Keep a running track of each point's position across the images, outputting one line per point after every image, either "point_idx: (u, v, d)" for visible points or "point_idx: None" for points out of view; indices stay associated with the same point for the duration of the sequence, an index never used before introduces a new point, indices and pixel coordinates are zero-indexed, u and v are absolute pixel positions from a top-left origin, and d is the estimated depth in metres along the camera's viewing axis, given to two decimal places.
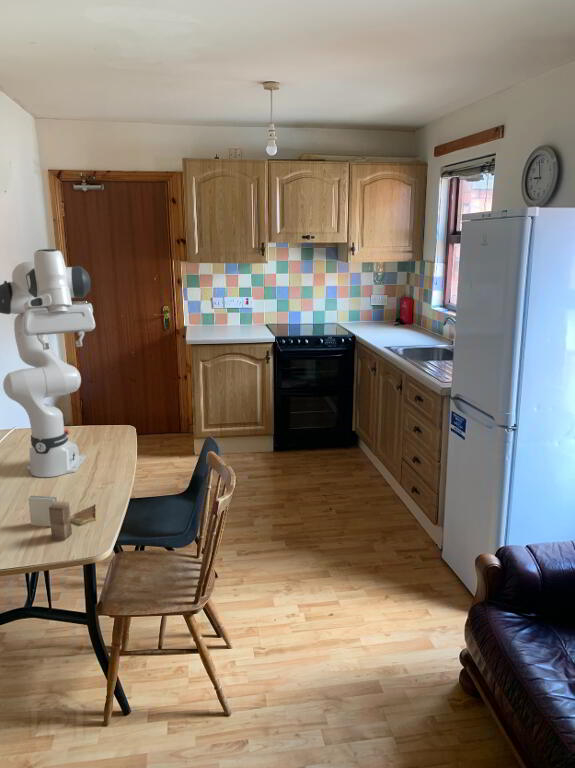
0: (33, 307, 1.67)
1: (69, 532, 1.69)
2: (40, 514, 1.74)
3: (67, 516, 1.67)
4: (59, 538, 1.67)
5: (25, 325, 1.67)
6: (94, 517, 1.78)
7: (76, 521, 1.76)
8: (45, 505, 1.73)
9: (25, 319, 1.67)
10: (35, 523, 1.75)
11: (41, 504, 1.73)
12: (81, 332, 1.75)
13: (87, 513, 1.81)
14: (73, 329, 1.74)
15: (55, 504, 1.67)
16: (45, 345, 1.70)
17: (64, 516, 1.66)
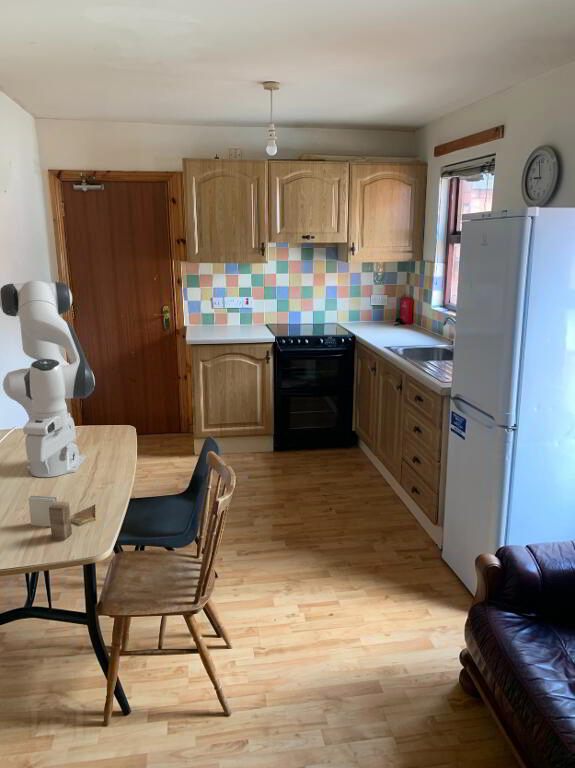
0: (48, 433, 1.53)
1: (69, 532, 1.69)
2: (40, 514, 1.74)
3: (67, 516, 1.67)
4: (59, 538, 1.67)
5: (41, 454, 1.52)
6: (94, 517, 1.78)
7: (76, 521, 1.76)
8: (45, 505, 1.73)
9: (41, 448, 1.52)
10: (35, 523, 1.75)
11: (41, 504, 1.73)
12: (67, 446, 1.68)
13: (87, 512, 1.81)
14: (65, 445, 1.65)
15: (55, 504, 1.67)
16: (48, 469, 1.58)
17: (64, 516, 1.66)
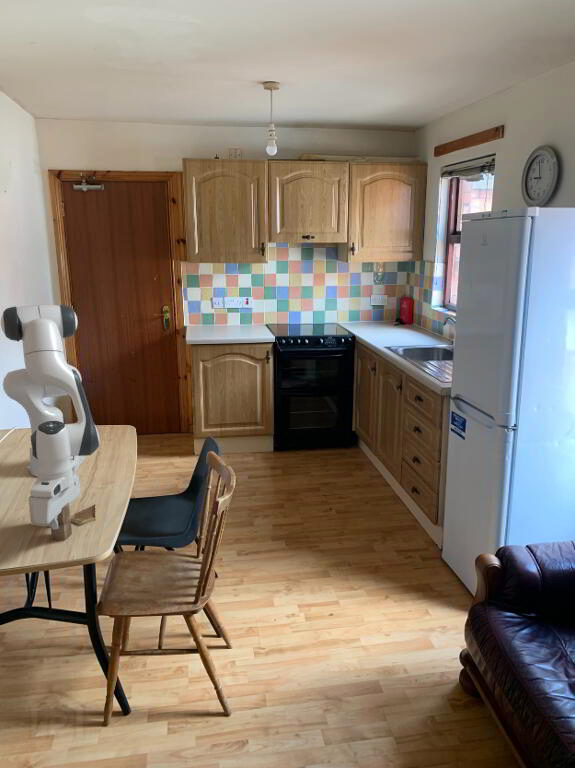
0: (54, 495, 1.58)
1: (69, 532, 1.69)
2: None
3: (67, 515, 1.67)
4: (59, 538, 1.67)
5: (47, 516, 1.56)
6: (94, 517, 1.78)
7: (76, 521, 1.76)
8: None
9: (48, 510, 1.56)
10: (35, 523, 1.75)
11: None
12: (69, 505, 1.70)
13: (87, 512, 1.81)
14: (70, 502, 1.70)
15: None
16: (58, 525, 1.65)
17: (64, 516, 1.66)
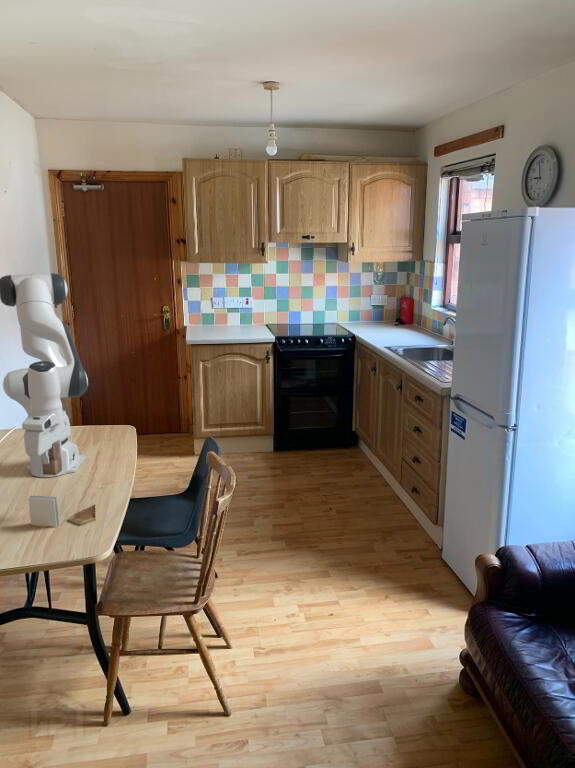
0: (44, 429, 1.68)
1: (59, 468, 1.79)
2: (40, 514, 1.74)
3: (58, 452, 1.77)
4: (50, 473, 1.77)
5: (38, 448, 1.67)
6: (94, 517, 1.79)
7: (76, 521, 1.76)
8: (45, 505, 1.73)
9: (39, 443, 1.66)
10: (35, 523, 1.75)
11: (41, 504, 1.73)
12: None
13: (87, 513, 1.81)
14: (61, 440, 1.80)
15: None
16: (49, 460, 1.75)
17: (54, 451, 1.76)
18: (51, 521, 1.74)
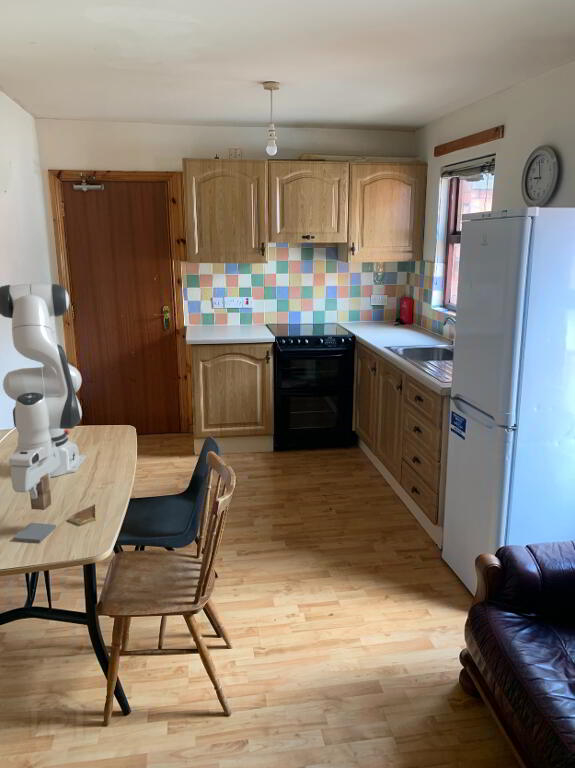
0: (32, 464, 1.62)
1: (48, 502, 1.73)
2: None
3: (46, 486, 1.72)
4: (38, 507, 1.71)
5: (25, 484, 1.61)
6: (94, 517, 1.79)
7: (76, 521, 1.76)
8: None
9: (26, 478, 1.61)
10: None
11: None
12: None
13: (87, 512, 1.81)
14: (49, 473, 1.74)
15: None
16: (37, 494, 1.69)
17: (43, 486, 1.70)
18: None
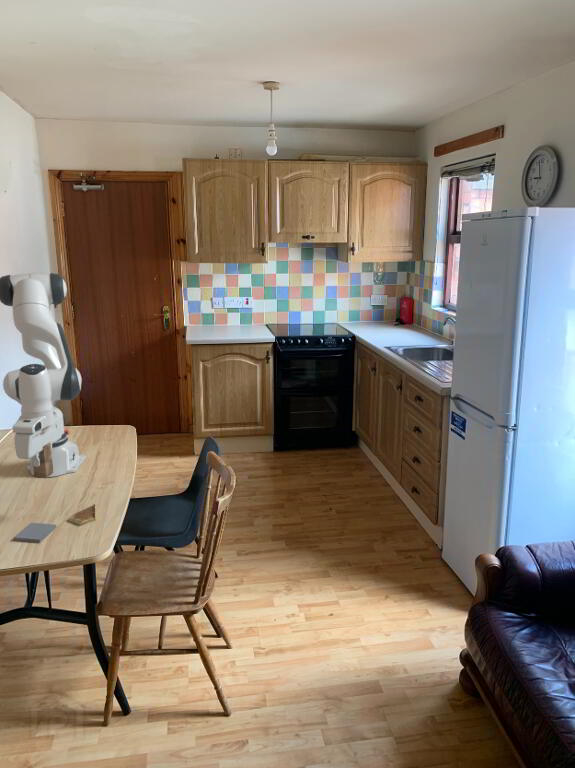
0: (35, 432, 1.68)
1: (50, 470, 1.79)
2: None
3: (49, 454, 1.78)
4: (41, 475, 1.77)
5: (28, 451, 1.67)
6: (94, 517, 1.79)
7: (76, 521, 1.76)
8: None
9: (29, 445, 1.67)
10: None
11: None
12: None
13: (87, 512, 1.81)
14: (52, 443, 1.80)
15: None
16: (39, 462, 1.75)
17: (45, 454, 1.76)
18: None
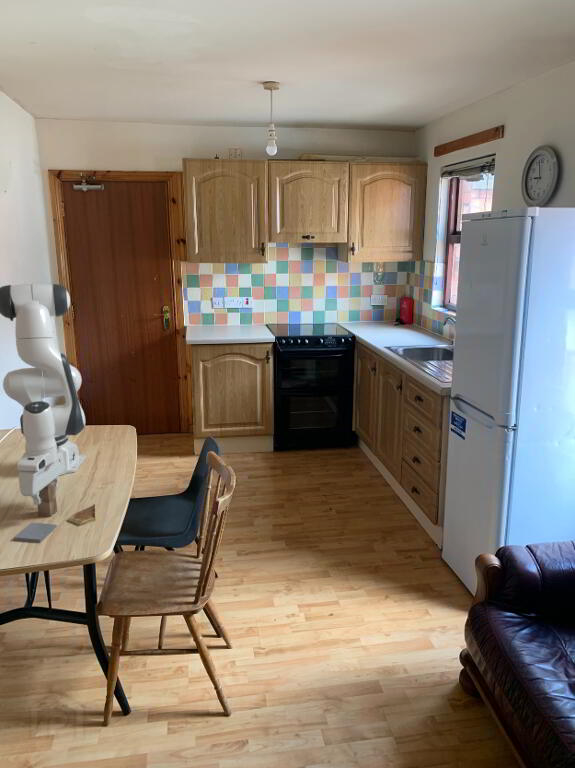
0: (39, 470, 1.71)
1: (54, 509, 1.83)
2: None
3: (53, 494, 1.81)
4: (45, 514, 1.81)
5: (33, 489, 1.70)
6: (94, 517, 1.79)
7: (76, 521, 1.76)
8: None
9: (33, 483, 1.70)
10: None
11: None
12: (57, 477, 1.86)
13: (87, 513, 1.81)
14: (55, 478, 1.83)
15: None
16: (40, 501, 1.76)
17: (49, 494, 1.79)
18: None
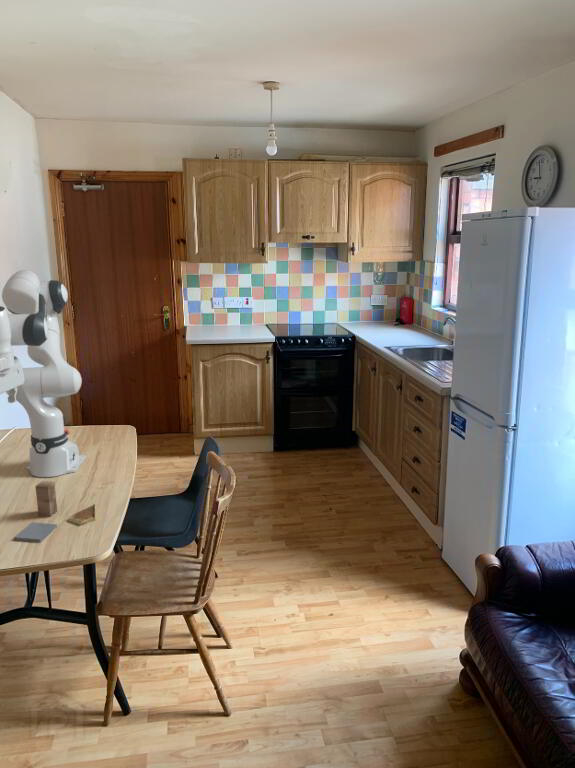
0: None
1: (54, 509, 1.83)
2: None
3: (53, 494, 1.81)
4: (45, 514, 1.81)
5: None
6: (94, 517, 1.78)
7: (76, 521, 1.76)
8: None
9: None
10: None
11: None
12: (15, 389, 1.81)
13: (86, 512, 1.81)
14: (13, 387, 1.78)
15: (41, 483, 1.81)
16: None
17: (49, 494, 1.79)
18: None
